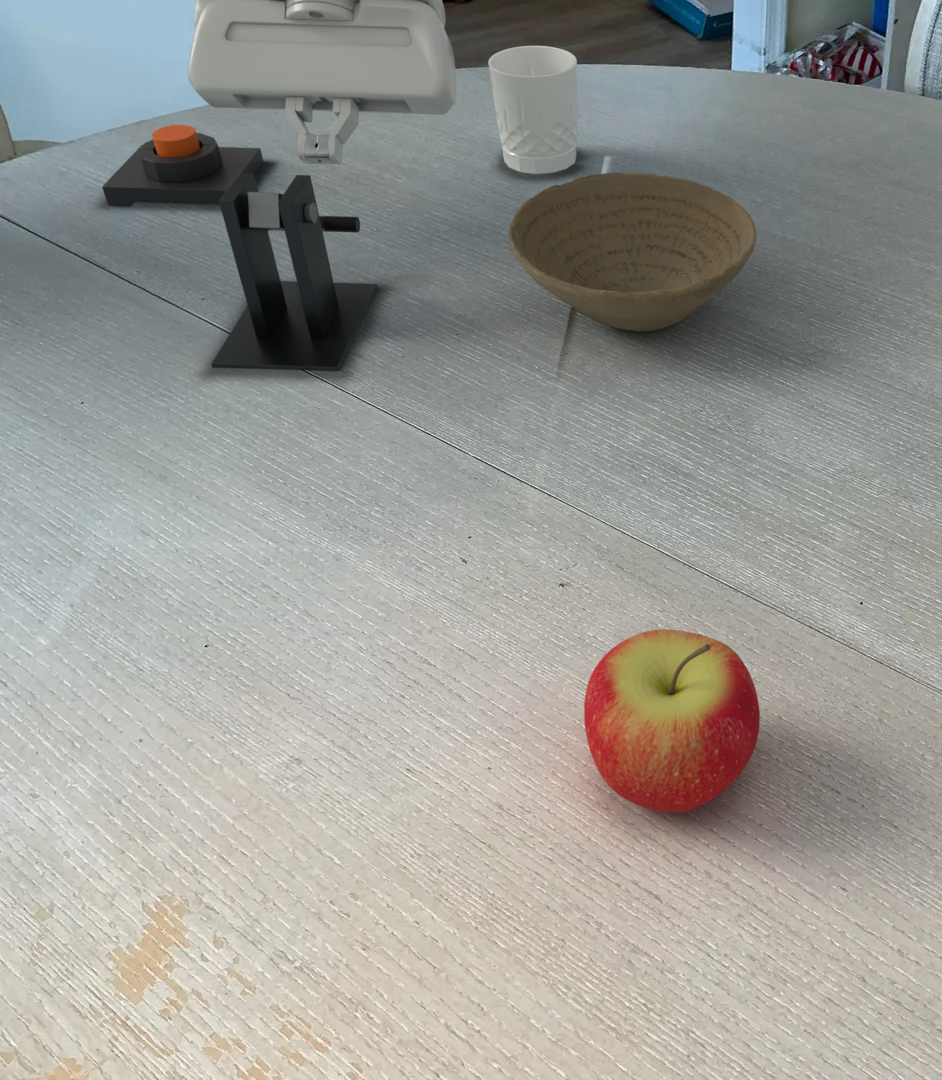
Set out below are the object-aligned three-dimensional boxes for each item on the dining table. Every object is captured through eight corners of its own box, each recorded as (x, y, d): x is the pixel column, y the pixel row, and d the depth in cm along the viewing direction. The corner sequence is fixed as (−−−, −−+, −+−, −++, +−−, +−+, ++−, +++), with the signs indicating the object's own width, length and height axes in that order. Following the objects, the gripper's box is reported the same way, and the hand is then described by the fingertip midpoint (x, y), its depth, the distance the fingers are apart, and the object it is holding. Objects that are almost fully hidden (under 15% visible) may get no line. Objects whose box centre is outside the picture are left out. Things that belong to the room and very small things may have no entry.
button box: (109, 210, 104) (94, 166, 101) (148, 167, 110) (135, 125, 108) (234, 214, 104) (222, 170, 101) (266, 170, 110) (255, 128, 108)
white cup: (486, 179, 110) (474, 70, 103) (517, 146, 116) (507, 41, 109) (566, 189, 109) (559, 80, 102) (593, 155, 114) (588, 50, 108)
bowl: (785, 364, 87) (791, 267, 82) (539, 399, 83) (529, 300, 78) (715, 249, 101) (718, 159, 95) (500, 274, 96) (490, 182, 91)
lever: (284, 238, 93) (283, 207, 92) (360, 240, 93) (360, 209, 92) (220, 226, 81) (219, 190, 81) (307, 229, 81) (306, 193, 81)
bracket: (266, 293, 93) (229, 149, 86) (379, 297, 93) (352, 153, 86) (215, 377, 84) (167, 225, 77) (340, 381, 84) (305, 229, 77)
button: (151, 159, 103) (145, 140, 102) (166, 143, 106) (160, 123, 105) (192, 160, 103) (186, 141, 102) (206, 144, 106) (201, 125, 105)
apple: (731, 865, 55) (738, 728, 49) (562, 822, 57) (546, 683, 50) (773, 733, 61) (784, 595, 55) (619, 697, 63) (611, 559, 56)
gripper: (179, -37, 90) (167, 140, 89) (447, -28, 90) (438, 149, 89) (214, 6, 96) (204, 172, 95) (465, 14, 96) (457, 180, 95)
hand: (319, 161), depth 92 cm, fingers closed
